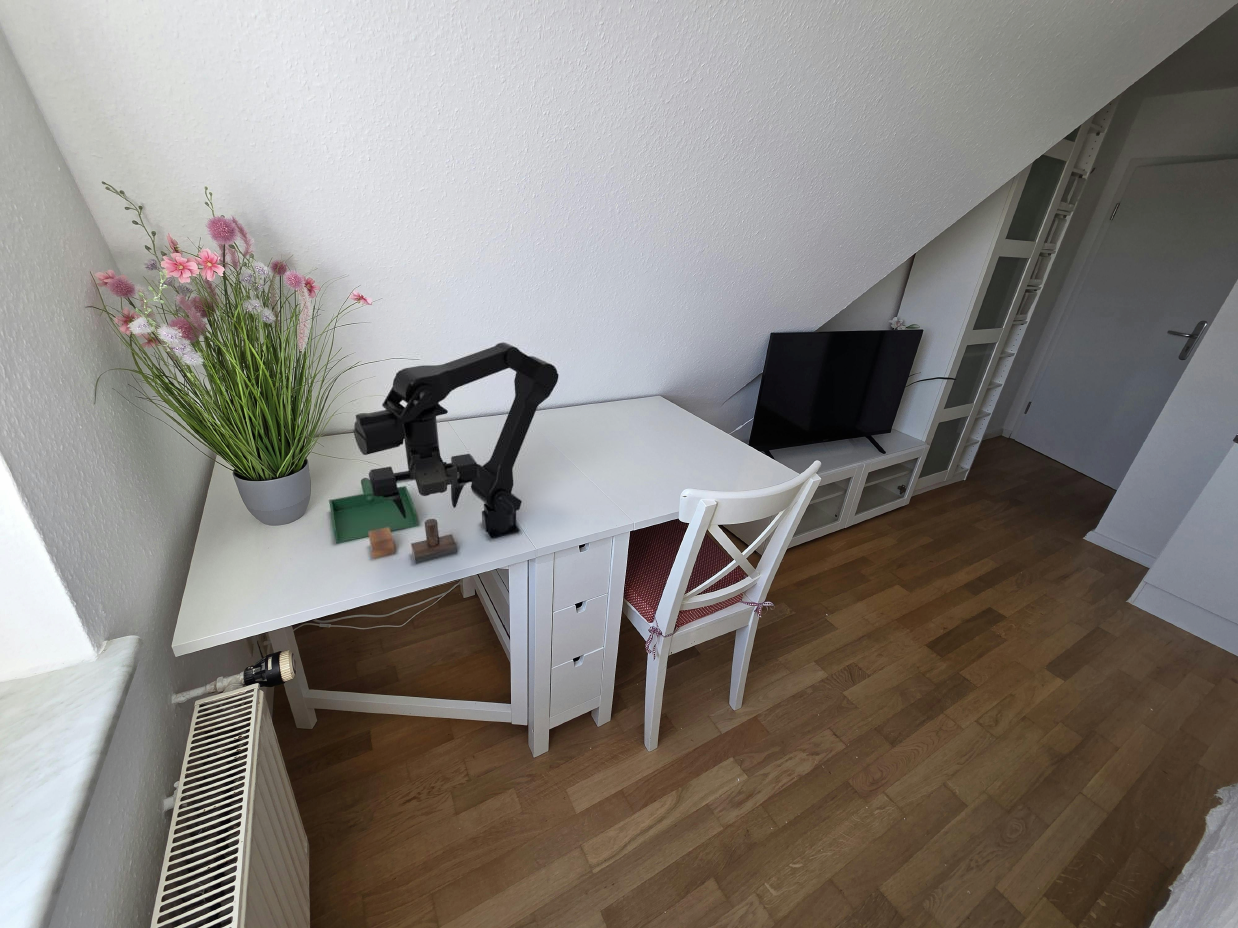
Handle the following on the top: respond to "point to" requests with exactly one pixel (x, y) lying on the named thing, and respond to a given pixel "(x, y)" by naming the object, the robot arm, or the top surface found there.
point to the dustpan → (369, 514)
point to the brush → (433, 544)
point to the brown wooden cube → (381, 542)
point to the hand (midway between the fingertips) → (429, 511)
